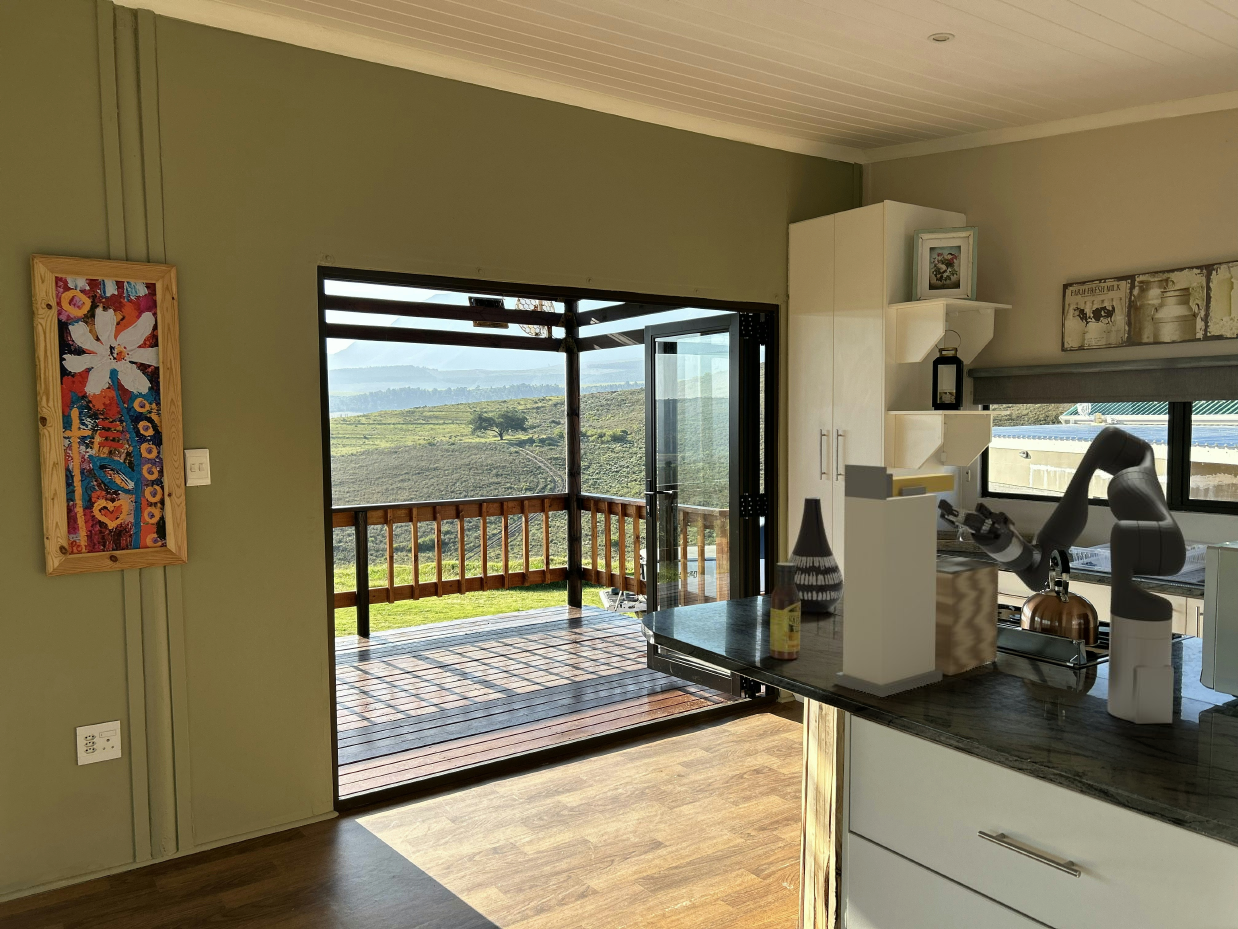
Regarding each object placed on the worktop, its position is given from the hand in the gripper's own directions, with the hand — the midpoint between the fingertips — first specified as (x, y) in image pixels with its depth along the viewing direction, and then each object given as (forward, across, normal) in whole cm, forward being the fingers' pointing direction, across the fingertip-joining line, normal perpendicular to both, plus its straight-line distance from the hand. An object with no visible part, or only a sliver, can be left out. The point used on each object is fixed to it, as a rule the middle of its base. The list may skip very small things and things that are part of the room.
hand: (958, 504), depth 188 cm
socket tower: (+2, 0, +39) cm, 39 cm away
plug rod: (+16, 0, +5) cm, 17 cm away
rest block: (-16, 0, +29) cm, 33 cm away
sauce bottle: (+5, -25, +41) cm, 48 cm away
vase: (-27, -51, +22) cm, 62 cm away
